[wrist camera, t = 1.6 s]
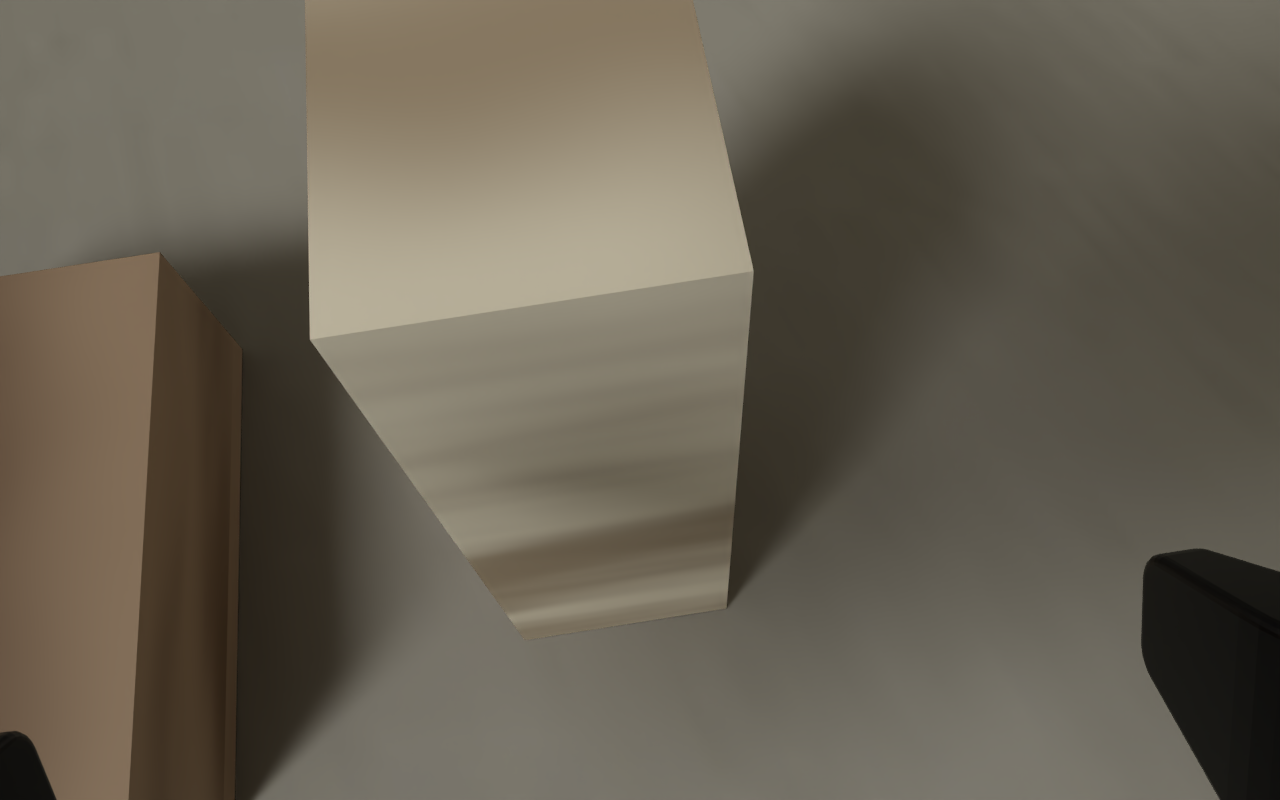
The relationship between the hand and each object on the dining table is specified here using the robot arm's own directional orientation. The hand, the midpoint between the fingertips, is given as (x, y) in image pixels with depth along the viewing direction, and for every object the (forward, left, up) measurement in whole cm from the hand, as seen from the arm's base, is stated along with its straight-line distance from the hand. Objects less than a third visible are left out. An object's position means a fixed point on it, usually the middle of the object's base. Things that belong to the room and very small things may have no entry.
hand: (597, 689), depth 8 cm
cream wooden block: (+4, +4, -12) cm, 13 cm away
